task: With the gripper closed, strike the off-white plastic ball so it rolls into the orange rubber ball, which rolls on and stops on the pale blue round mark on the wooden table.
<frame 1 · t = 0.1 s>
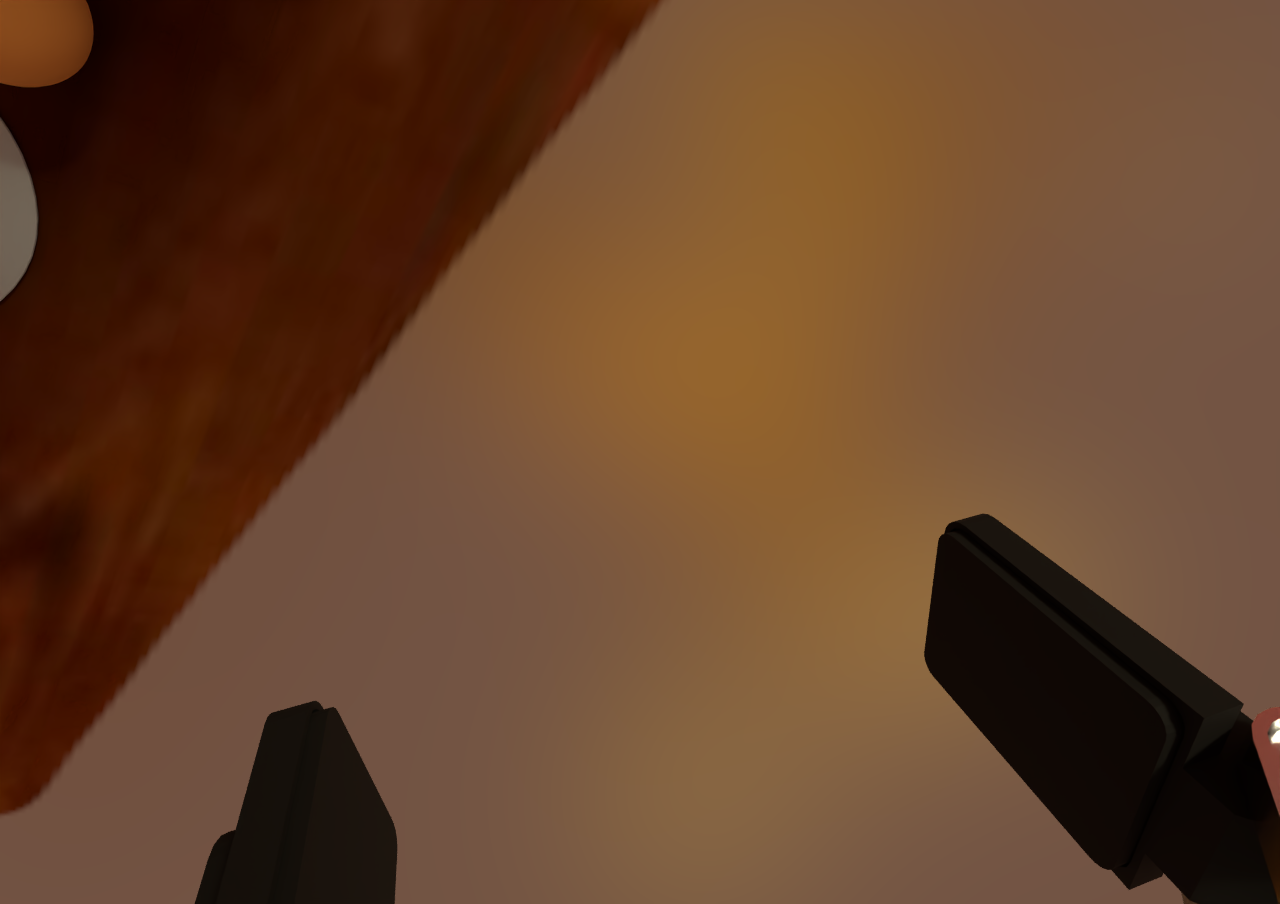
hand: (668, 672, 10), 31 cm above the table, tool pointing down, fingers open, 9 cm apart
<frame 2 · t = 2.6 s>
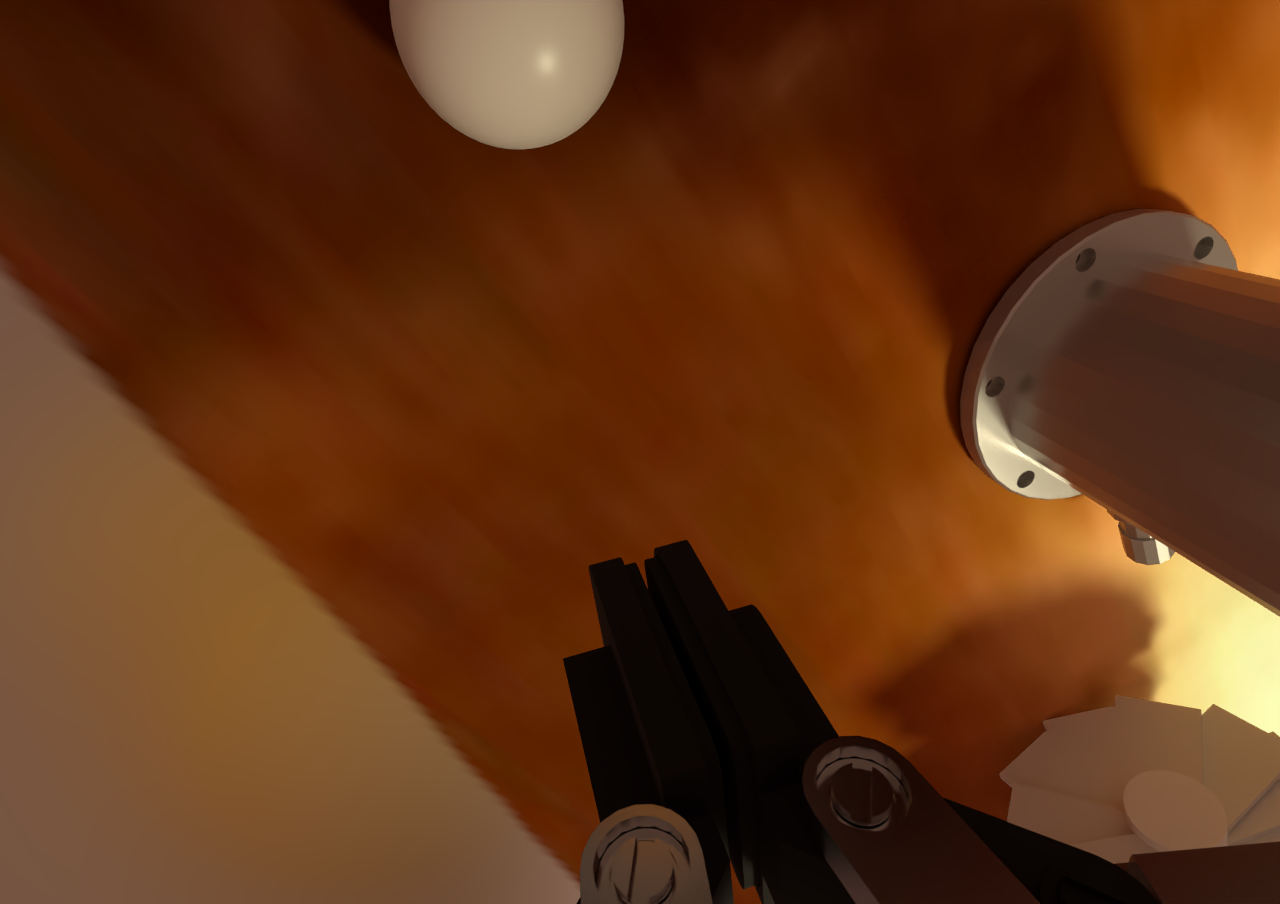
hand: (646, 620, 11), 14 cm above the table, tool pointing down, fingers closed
cue ball: (510, 24, 16), on the table
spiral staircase: (1067, 788, 46), on the table
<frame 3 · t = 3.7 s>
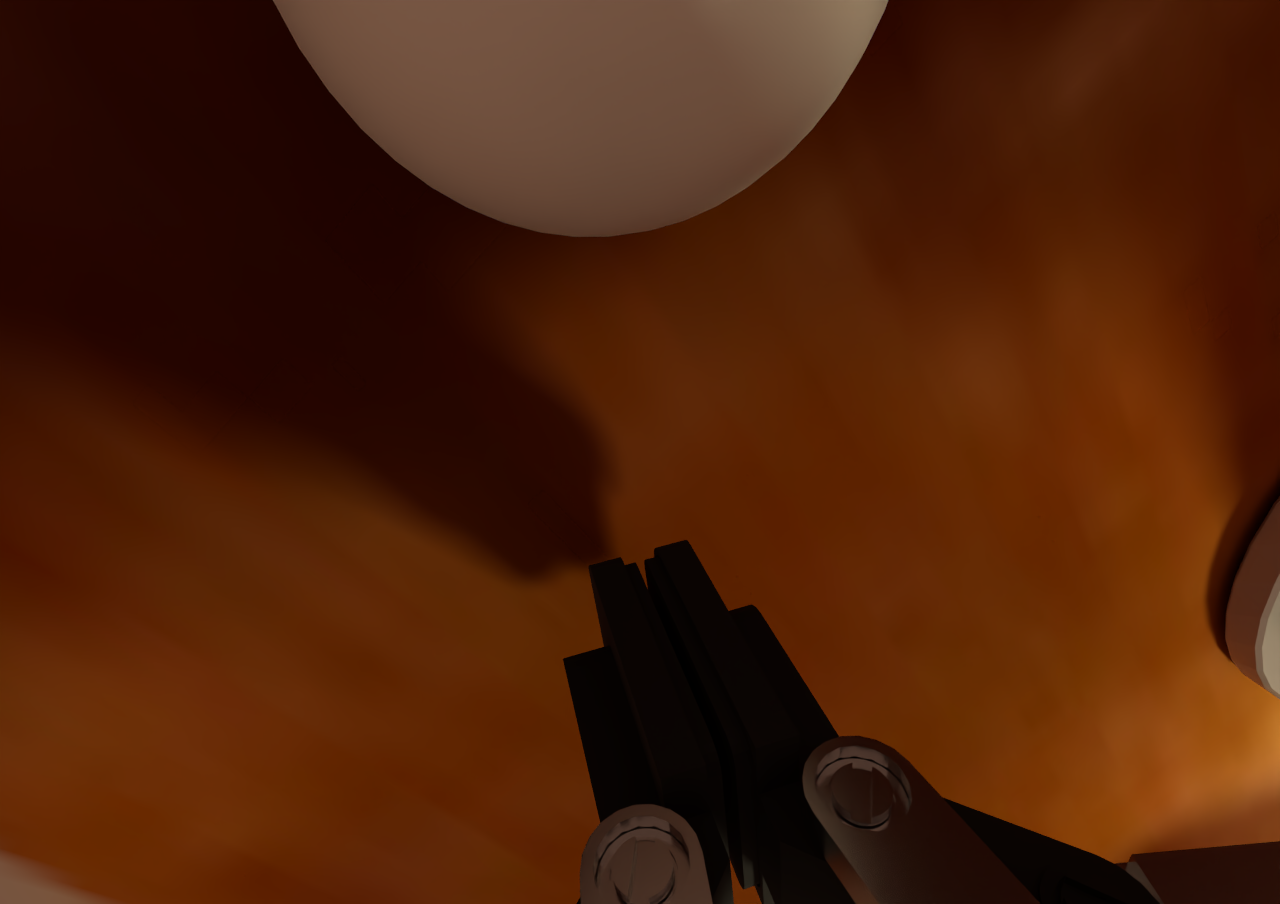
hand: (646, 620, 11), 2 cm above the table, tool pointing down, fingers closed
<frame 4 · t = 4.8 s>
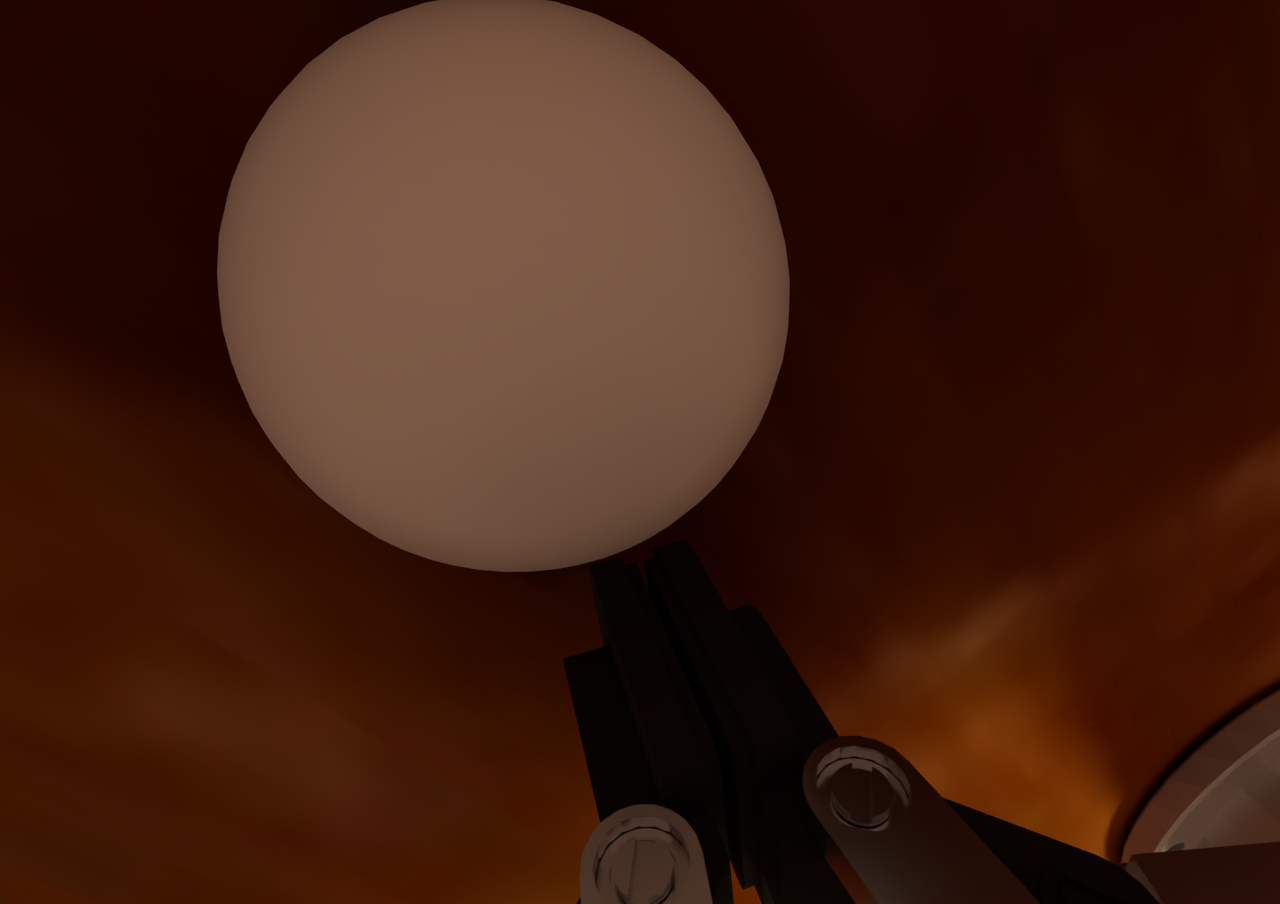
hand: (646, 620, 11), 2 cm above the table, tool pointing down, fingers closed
cue ball: (523, 308, 7), on the table
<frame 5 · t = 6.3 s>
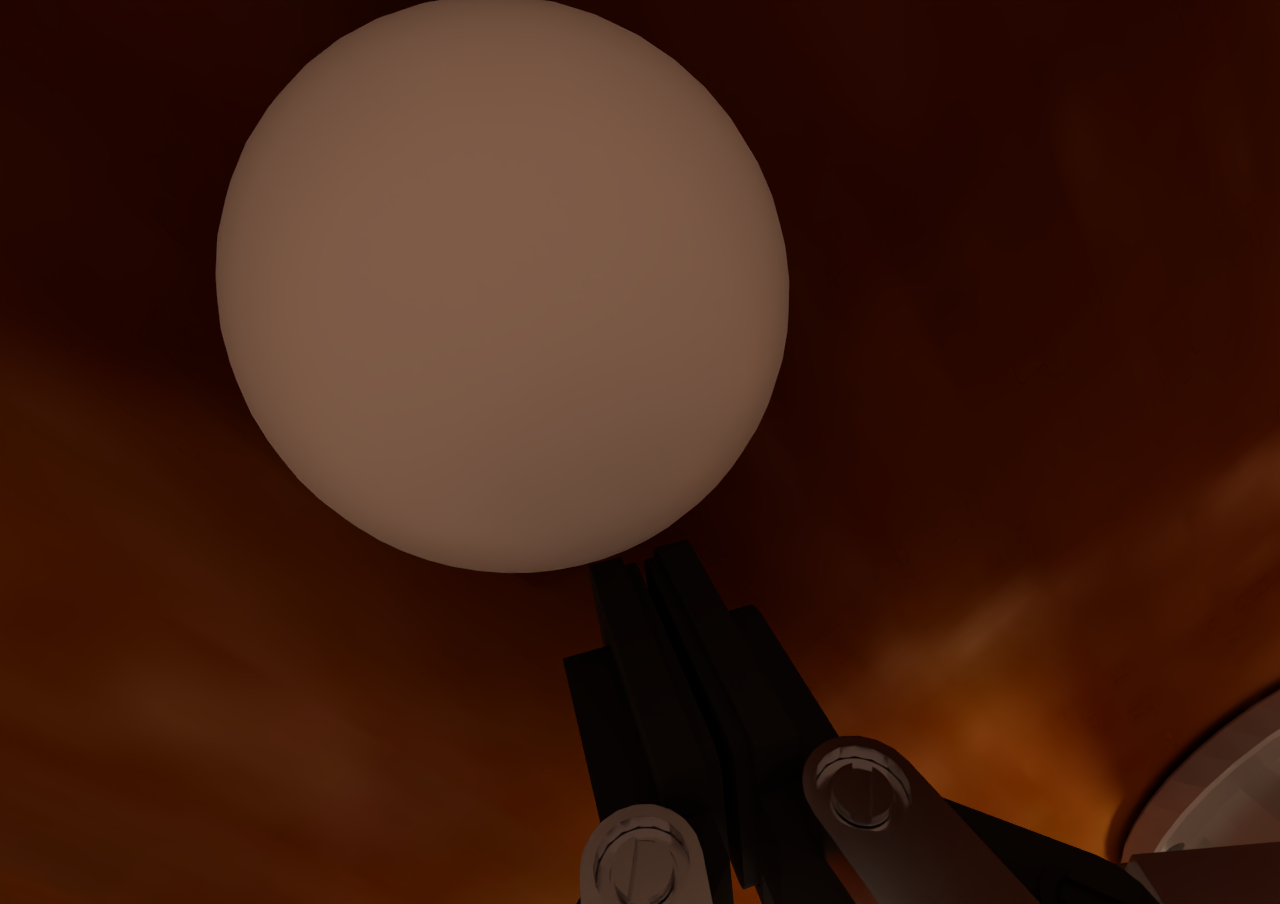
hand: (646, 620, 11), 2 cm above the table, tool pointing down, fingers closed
cue ball: (523, 309, 7), on the table
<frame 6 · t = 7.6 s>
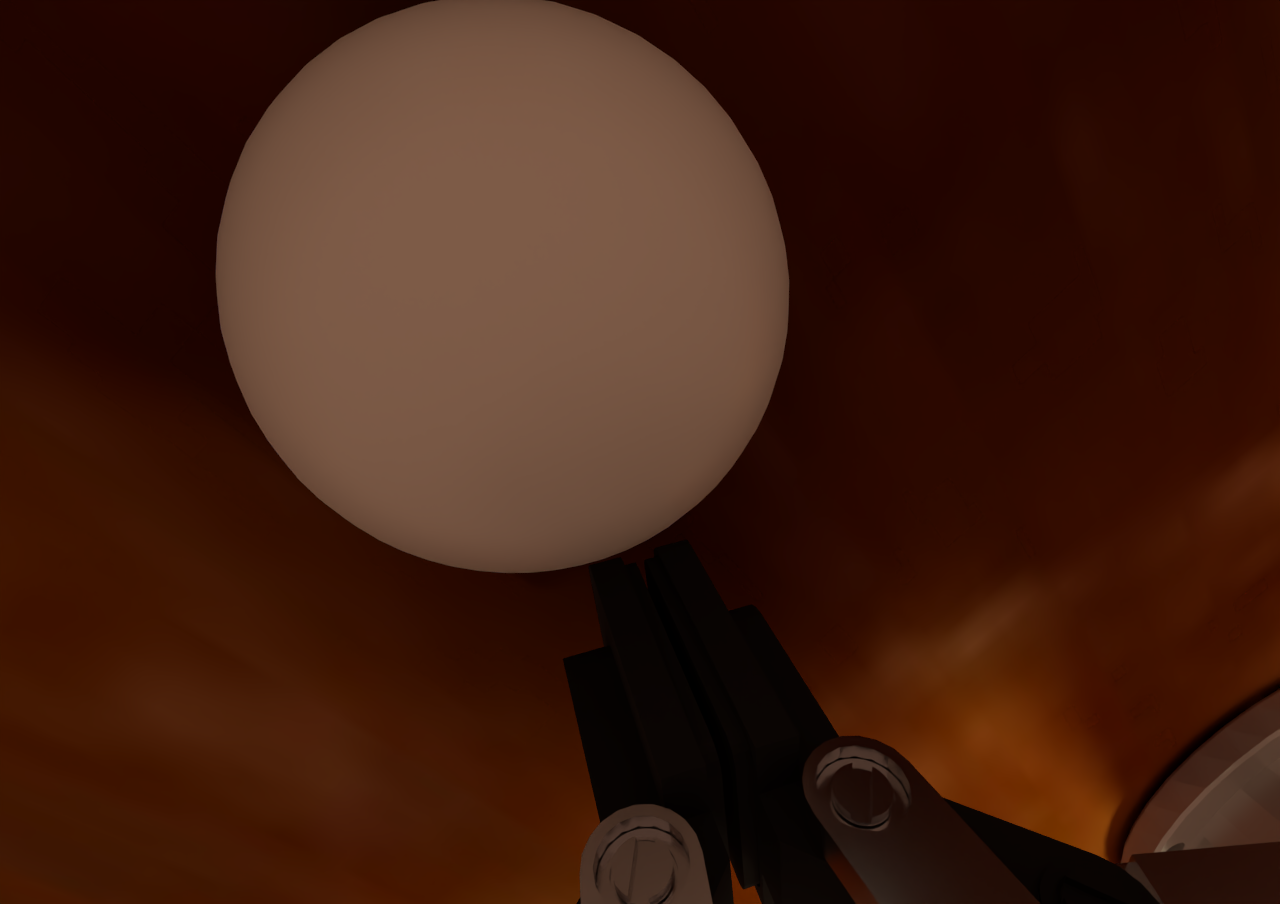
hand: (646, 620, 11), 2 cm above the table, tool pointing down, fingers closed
cue ball: (523, 309, 7), on the table
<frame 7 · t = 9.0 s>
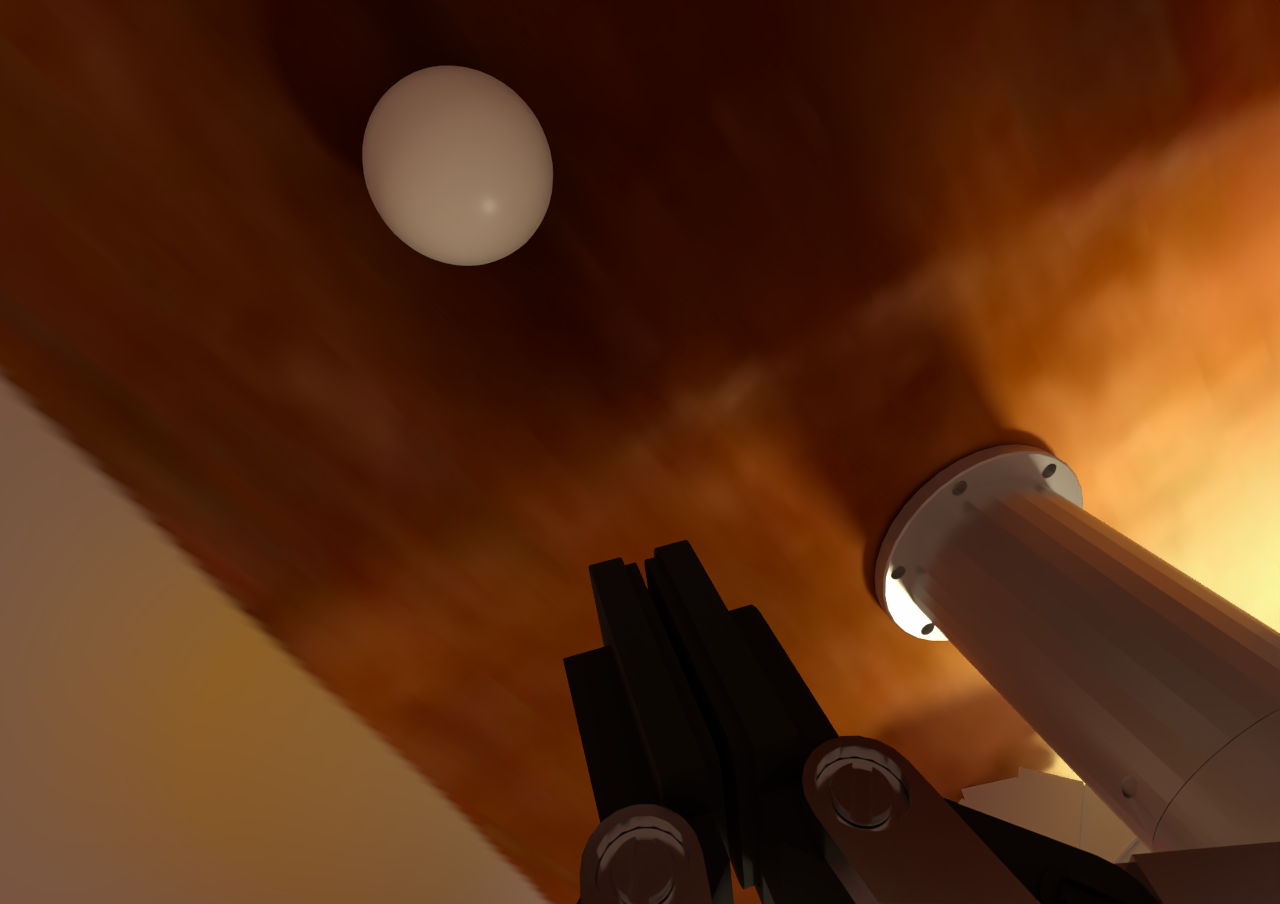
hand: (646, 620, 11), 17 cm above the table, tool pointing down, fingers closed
cue ball: (461, 170, 20), on the table
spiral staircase: (987, 837, 56), on the table
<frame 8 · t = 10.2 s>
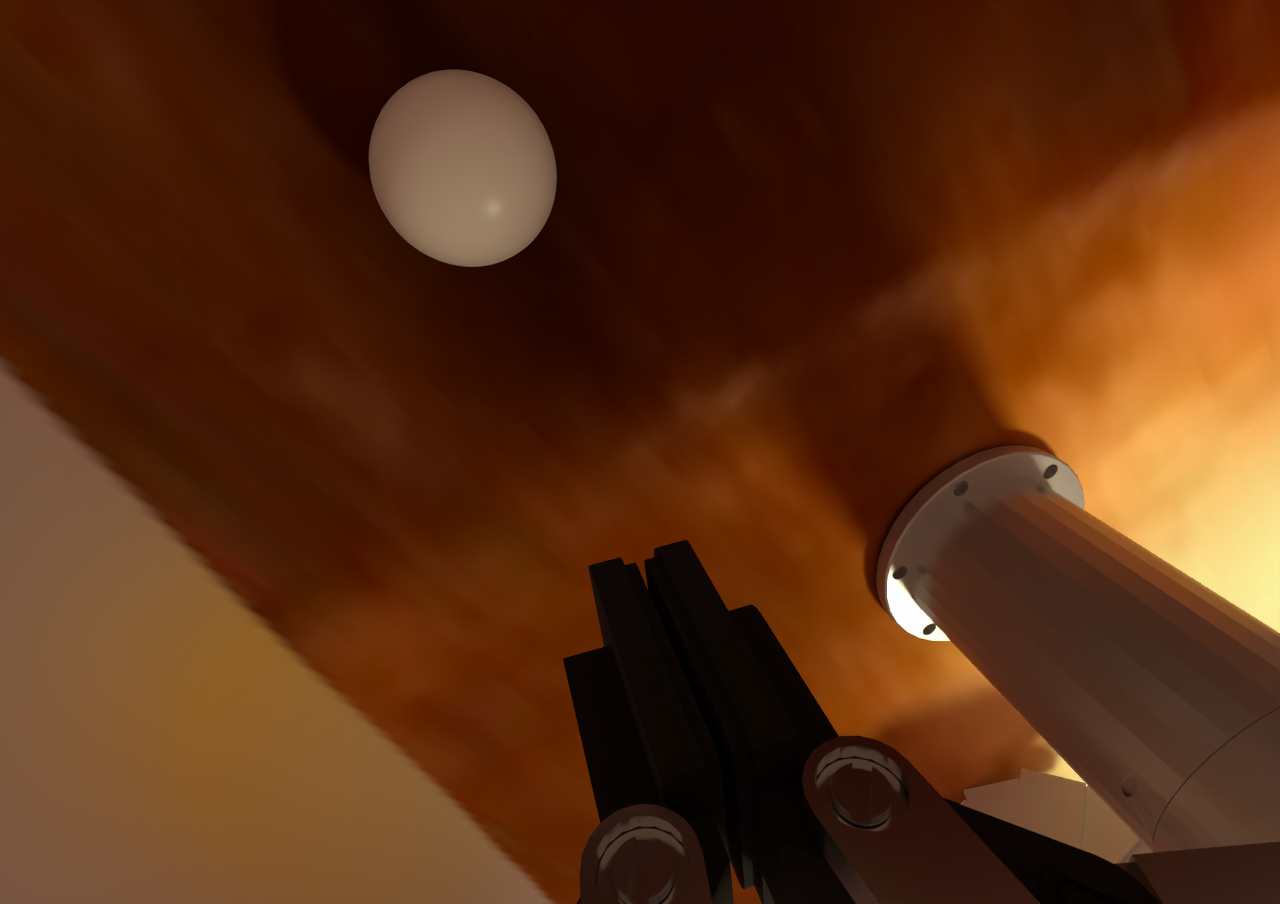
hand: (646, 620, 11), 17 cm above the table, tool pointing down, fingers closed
cue ball: (465, 173, 20), on the table
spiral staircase: (990, 838, 56), on the table
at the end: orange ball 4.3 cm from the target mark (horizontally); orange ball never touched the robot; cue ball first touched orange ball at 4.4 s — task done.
